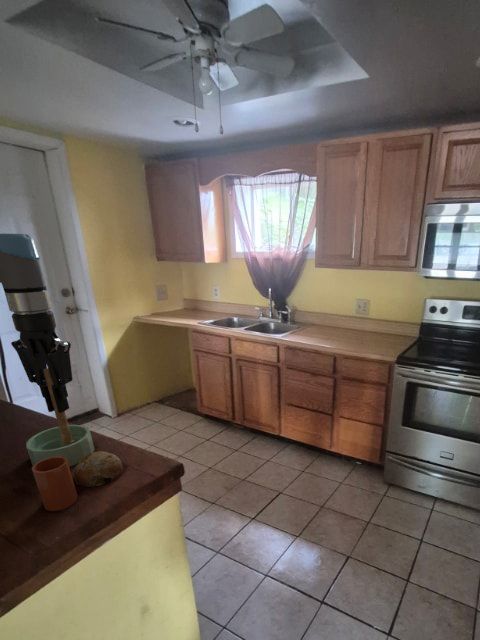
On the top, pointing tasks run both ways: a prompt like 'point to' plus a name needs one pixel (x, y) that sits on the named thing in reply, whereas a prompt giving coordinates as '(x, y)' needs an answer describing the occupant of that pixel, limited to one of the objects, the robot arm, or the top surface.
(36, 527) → the top surface
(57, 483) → the crock
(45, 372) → the stirring stick
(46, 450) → the bowl
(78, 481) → the bread roll
